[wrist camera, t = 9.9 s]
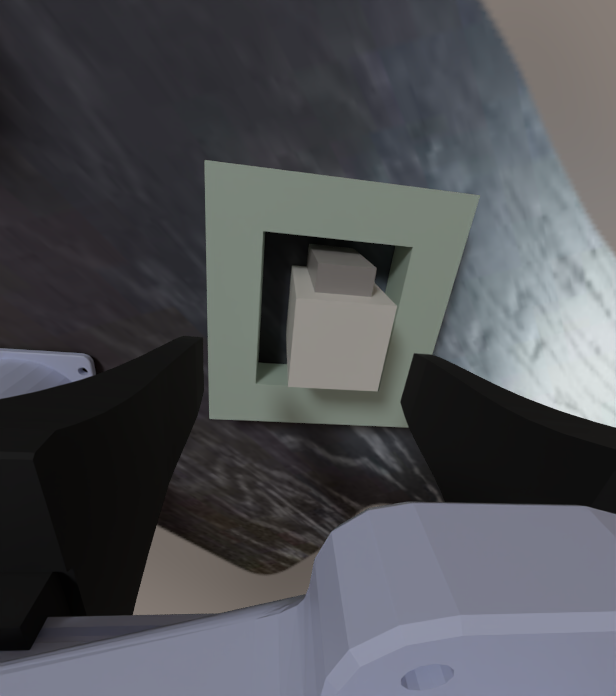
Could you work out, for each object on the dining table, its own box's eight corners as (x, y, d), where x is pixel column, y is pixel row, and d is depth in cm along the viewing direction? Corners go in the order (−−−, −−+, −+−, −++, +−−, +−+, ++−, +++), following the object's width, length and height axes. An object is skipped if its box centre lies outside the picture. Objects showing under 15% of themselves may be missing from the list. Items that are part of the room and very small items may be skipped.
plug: (351, 336, 20) (377, 391, 15) (286, 332, 20) (287, 386, 14) (367, 249, 18) (404, 276, 13) (293, 242, 18) (299, 266, 12)
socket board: (397, 403, 23) (410, 427, 20) (217, 394, 21) (209, 418, 19) (453, 194, 17) (480, 195, 15) (215, 163, 16) (204, 160, 14)
